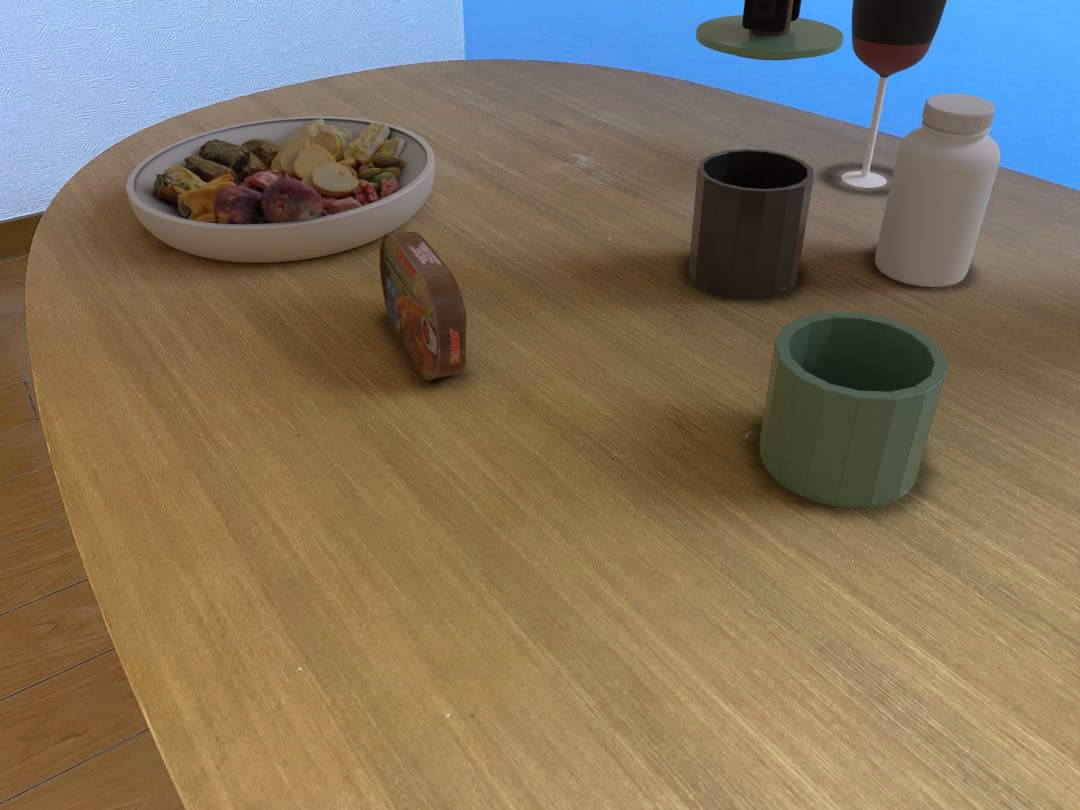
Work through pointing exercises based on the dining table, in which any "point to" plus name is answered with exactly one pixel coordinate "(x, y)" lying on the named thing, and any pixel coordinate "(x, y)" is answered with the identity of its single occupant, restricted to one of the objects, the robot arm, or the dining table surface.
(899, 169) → the pill bottle
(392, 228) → the bowl
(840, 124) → the dining table surface
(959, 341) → the dining table surface
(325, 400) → the dining table surface
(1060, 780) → the dining table surface
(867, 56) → the wineglass
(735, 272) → the cup
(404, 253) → the tin
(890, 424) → the can
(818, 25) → the lid
